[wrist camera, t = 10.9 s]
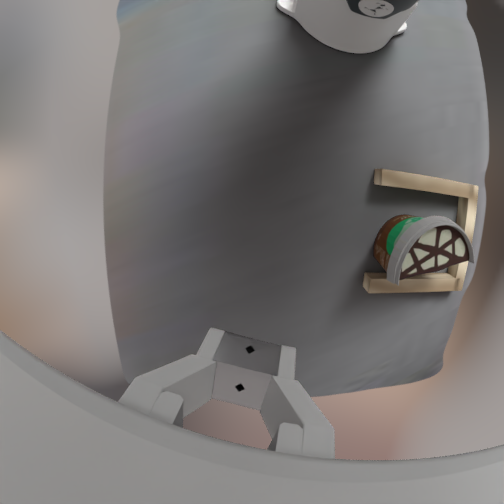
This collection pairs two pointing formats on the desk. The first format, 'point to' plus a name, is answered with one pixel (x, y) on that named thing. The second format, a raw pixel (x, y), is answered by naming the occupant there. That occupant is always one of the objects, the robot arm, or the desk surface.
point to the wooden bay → (464, 219)
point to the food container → (420, 246)
